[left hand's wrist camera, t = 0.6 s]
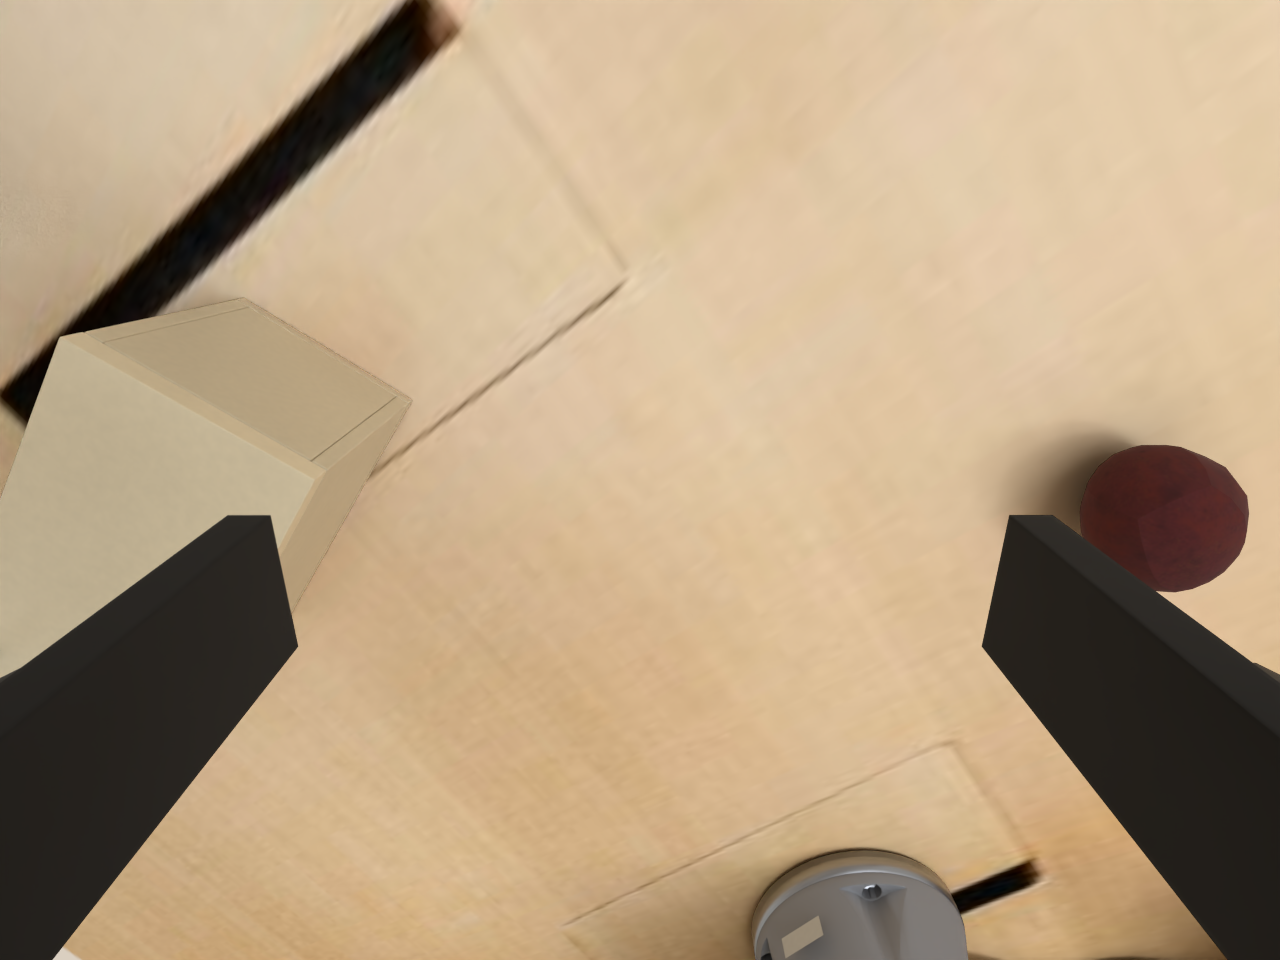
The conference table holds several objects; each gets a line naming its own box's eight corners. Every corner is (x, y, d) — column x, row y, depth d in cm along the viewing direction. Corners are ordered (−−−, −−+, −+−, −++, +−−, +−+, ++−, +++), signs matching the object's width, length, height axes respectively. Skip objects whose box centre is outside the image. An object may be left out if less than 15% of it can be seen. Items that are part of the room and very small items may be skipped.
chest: (286, 623, 43) (174, 752, 33) (131, 543, 41) (-40, 654, 31) (413, 399, 38) (327, 469, 28) (243, 297, 36) (83, 331, 26)
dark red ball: (1080, 572, 42) (1162, 639, 35) (1030, 471, 39) (1109, 523, 33) (1202, 510, 40) (1312, 568, 34) (1157, 401, 38) (1266, 440, 31)
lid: (168, 763, 33) (16, 941, 25) (-45, 667, 31) (-284, 826, 23) (327, 470, 28) (199, 575, 20) (82, 331, 26) (-172, 385, 18)
